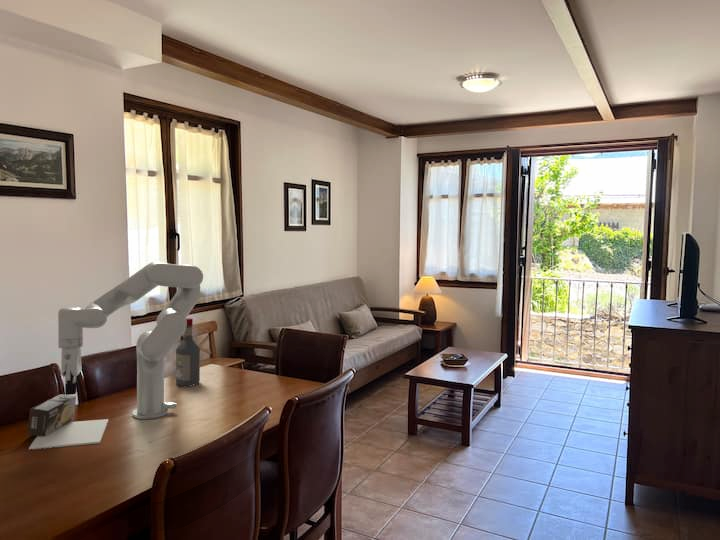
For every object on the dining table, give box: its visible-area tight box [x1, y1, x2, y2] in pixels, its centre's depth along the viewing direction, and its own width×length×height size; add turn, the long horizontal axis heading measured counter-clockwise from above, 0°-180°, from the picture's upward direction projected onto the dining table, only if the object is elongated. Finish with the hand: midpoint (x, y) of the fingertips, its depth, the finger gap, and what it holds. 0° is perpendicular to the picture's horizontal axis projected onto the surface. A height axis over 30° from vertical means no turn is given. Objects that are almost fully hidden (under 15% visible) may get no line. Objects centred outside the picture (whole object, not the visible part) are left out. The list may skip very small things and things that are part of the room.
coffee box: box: [27, 393, 77, 437], centre depth 180 cm, size 9×6×16 cm
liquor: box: [175, 318, 201, 387], centre depth 241 cm, size 9×9×30 cm
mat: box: [28, 418, 109, 451], centre depth 177 cm, size 20×22×1 cm
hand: (70, 393), depth 185 cm, fingers closed
